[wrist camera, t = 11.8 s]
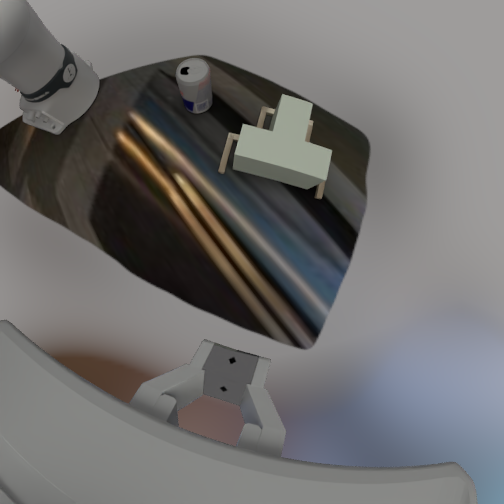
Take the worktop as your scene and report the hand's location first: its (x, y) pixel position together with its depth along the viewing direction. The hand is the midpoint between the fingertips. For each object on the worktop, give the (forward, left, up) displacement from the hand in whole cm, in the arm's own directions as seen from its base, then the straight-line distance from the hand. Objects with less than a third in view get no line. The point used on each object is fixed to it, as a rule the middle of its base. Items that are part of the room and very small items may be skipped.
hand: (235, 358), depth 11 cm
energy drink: (-13, +28, -38) cm, 49 cm away
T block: (+4, +22, -37) cm, 44 cm away
